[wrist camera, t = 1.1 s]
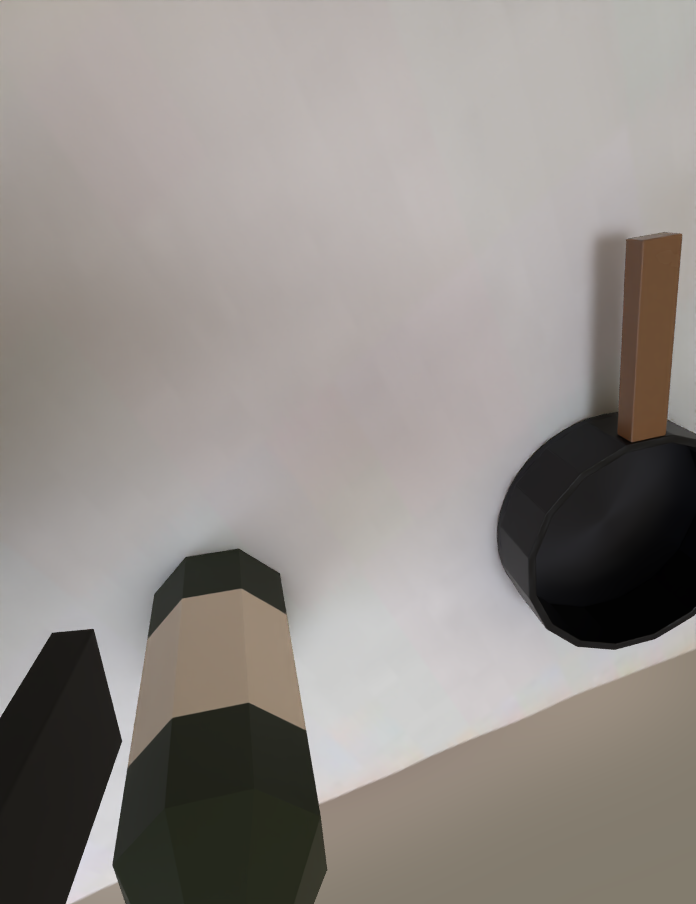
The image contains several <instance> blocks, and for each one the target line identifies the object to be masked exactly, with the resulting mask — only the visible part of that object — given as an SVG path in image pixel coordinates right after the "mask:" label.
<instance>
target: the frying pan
mask: <svg viewBox="0 0 696 904" xmlns="http://www.w3.org/2000/svg"><path fill="white" fill-rule="evenodd" d="M681 244H682V234H680V233H667V232H663V233H657V234H651V235H645V236H640V237H634V238H628V239H627V240H626V258H625V279H624V301H623V322H622V344H621V365H620V387H619V408H618V412H616V413H609V414H603V415H599V416H596V417H592V418H589V419H587V420H584V421H582V422H579V423H577V424H575V425H573V426H571V427H569V428H567V429H566V430H564V431H562V432H560V433H559V434H558V435H556V436H555V437H553V438H552V439H550V440H549V441H548V442H547V443H546V444H544V445H543V446H542V447H541V448H540V449H539V450H538V451H537V452H536V453H535V454H534V455H533V456H532V457H531V458H530V459H529V460H528V461H527V462H526V464H525V465H524V466H523V468H522V469H521V470H520V472H519V473H518V474H517V476H516V478H515V480H514V481H513V483H512V485H511V486H510V488H509V490H508V493H507V495H506V497H505V500H504V502H503V506H502V509H501V512H500V517H499V523H498V535H497V541H498V550H499V555H500V558H501V562H502V565H503V567H504V569H505V571H506V573H507V575H508V576H509V578H510V579H511V580H512V582H513V584H514V585H515V587H516V589H517V591H518V592H519V594H520V595H521V596H522V598H523V599H524V600H525V601H526V603H527V604H528V605H529V607H530V608H531V609H532V611H533V612H534V613H535V615H536V616H537V617H538V618H539V620H540V621H541V622H542V624H543V625H544V626H545V628H546V629H548V630H549V631H551V632H553V633H554V634H556V635H558V636H560V637H561V638H563V639H565V640H566V641H568V642H570V643H572V644H573V645H575V646H577V647H588V648H600V649H612V650H616V649H620V648H623V647H627V646H631V645H635V644H638V643H642V642H646V641H650V640H653V639H656V638H658V637H660V636H661V635H663V634H665V633H666V632H668V631H670V630H671V629H673V628H675V627H676V626H678V625H680V624H681V623H683V622H684V621H686V620H688V619H689V618H691V617H693V616H694V615H695V614H696V434H695V433H693V432H691V431H689V430H687V429H685V428H683V427H681V426H679V425H677V424H675V423H673V422H671V421H668V420H667V414H668V402H669V390H670V378H671V366H672V354H673V341H674V329H675V317H676V305H677V293H678V281H679V268H680V256H681Z"/></svg>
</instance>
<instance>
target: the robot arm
mask: <svg viewBox="0 0 696 904" xmlns="http://www.w3.org/2000/svg"><path fill="white" fill-rule="evenodd" d="M121 743H122V739H121V735H120V731H119V727H118V723H117V719H116V715H115V711H114V707H113V703H112V699H111V695H110V692H109V688H108V684H107V680H106V676H105V672H104V668H103V664H102V660H101V656H100V652H99V648H98V644H97V640H96V636H95V633H94V629H88V630H77V631H67V632H56V633H52V634H51V635H50V637H49V639H48V640H47V642H46V644H45V645H44V647H43V649H42V650H41V652H40V654H39V655H38V657H37V658H36V660H35V662H34V663H33V665H32V667H31V668H30V670H29V672H28V673H27V675H26V676H25V678H24V680H23V681H22V683H21V685H20V686H19V688H18V690H17V691H16V693H15V695H14V696H13V698H12V699H11V701H10V703H9V704H8V706H7V708H6V709H5V711H4V713H3V714H2V716H1V717H0V904H66V901H67V898H68V895H69V892H70V890H71V887H72V884H73V881H74V878H75V875H76V872H77V869H78V867H79V864H80V861H81V858H82V855H83V852H84V849H85V846H86V844H87V841H88V838H89V835H90V832H91V829H92V826H93V823H94V821H95V818H96V815H97V812H98V809H99V806H100V803H101V800H102V798H103V795H104V792H105V789H106V786H107V783H108V780H109V777H110V774H111V772H112V769H113V766H114V763H115V760H116V757H117V754H118V751H119V749H120V746H121Z"/></svg>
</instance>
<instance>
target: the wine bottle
mask: <svg viewBox="0 0 696 904" xmlns="http://www.w3.org/2000/svg"><path fill="white" fill-rule="evenodd" d="M113 868H114V871H115V874H116V877H117V880H118V883H119V886H120V889H121V891H122V894H123V897H124V900H125V903H126V904H314V902H315V899H316V897H317V894H318V892H319V889H320V886H321V884H322V881H323V879H324V876H325V874H326V871H327V865H326V856H325V849H324V841H323V832H322V824H321V816H320V810H319V804H318V798H317V792H316V786H315V780H314V774H313V768H312V762H311V756H310V750H309V744H308V739H307V733H306V727H305V721H304V715H303V709H302V703H301V697H300V691H299V685H298V679H297V673H296V667H295V661H294V655H293V649H292V644H291V638H290V632H289V626H288V620H287V614H286V608H285V602H284V596H283V590H282V584H281V578H280V573H278V572H276V571H275V570H273V569H271V568H270V567H268V566H266V565H265V564H263V563H261V562H260V561H258V560H256V559H255V558H253V557H251V556H250V555H248V554H247V553H245V552H243V551H242V550H240V549H235V550H229V551H223V552H216V553H210V554H204V555H198V556H191V557H186V558H185V559H184V560H183V561H182V562H181V564H180V565H179V566H178V567H177V568H176V570H175V571H174V572H173V573H172V574H171V576H170V577H169V578H168V579H167V580H166V581H165V583H164V584H163V585H162V586H161V587H160V589H159V590H158V591H157V592H156V593H155V595H154V601H153V607H152V614H151V620H150V626H149V633H148V639H147V646H146V652H145V659H144V665H143V671H142V678H141V684H140V691H139V697H138V704H137V710H136V717H135V723H134V729H133V736H132V742H131V749H130V755H129V762H128V768H127V774H126V781H125V787H124V794H123V800H122V807H121V813H120V819H119V826H118V832H117V839H116V845H115V852H114V858H113Z"/></svg>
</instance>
